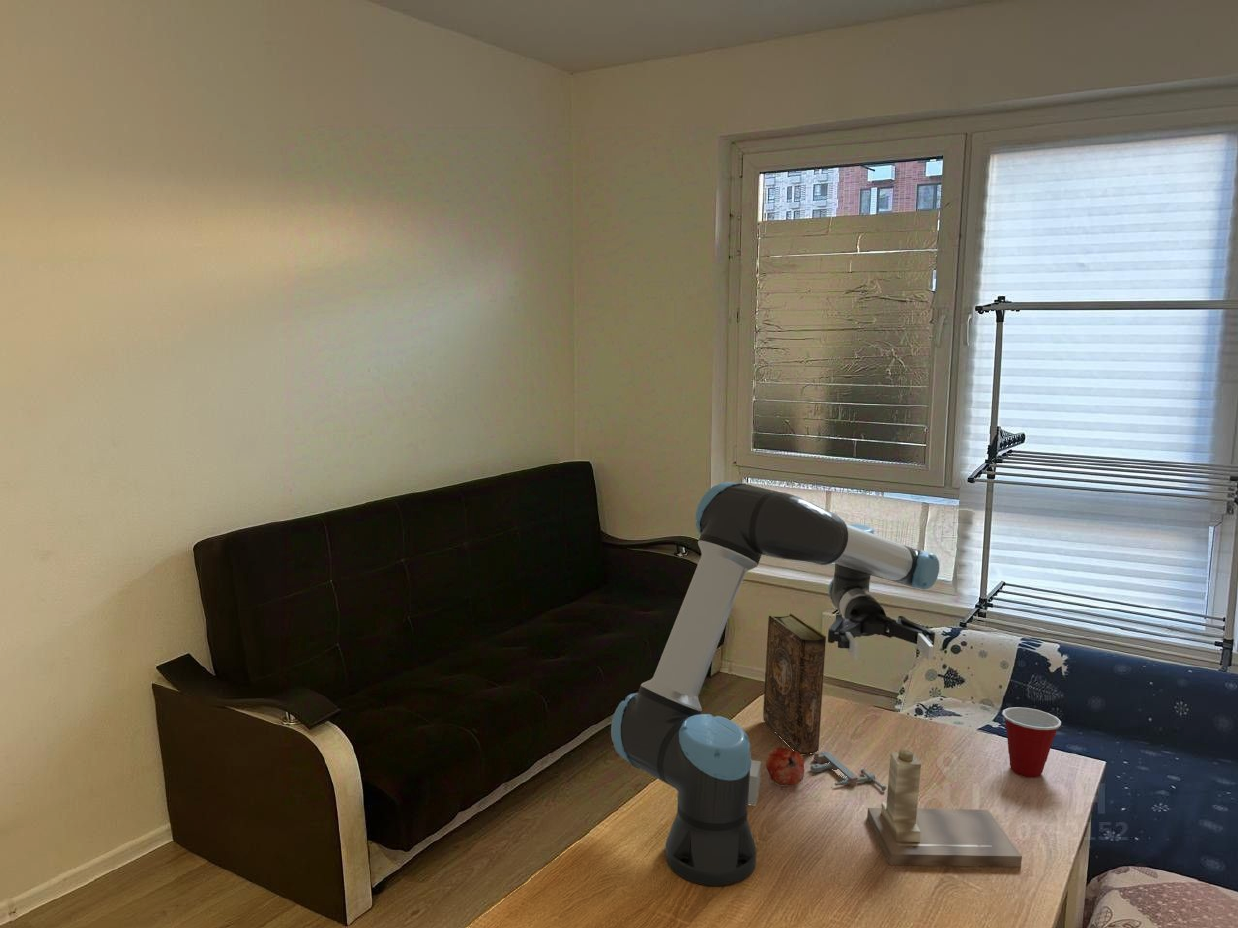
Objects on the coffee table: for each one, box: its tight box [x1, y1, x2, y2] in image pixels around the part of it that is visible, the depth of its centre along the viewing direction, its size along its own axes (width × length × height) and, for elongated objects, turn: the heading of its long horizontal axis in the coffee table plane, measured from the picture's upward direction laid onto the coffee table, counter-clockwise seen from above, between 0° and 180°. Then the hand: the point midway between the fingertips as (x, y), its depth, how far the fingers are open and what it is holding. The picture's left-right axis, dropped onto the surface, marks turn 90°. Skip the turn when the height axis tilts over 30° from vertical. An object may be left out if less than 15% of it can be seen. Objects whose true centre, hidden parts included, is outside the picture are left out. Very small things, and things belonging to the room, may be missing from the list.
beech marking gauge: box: [881, 749, 922, 842], centre depth 159 cm, size 4×9×14 cm, turn 0°
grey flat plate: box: [866, 807, 1023, 868], centre depth 159 cm, size 22×14×2 cm, turn 90°
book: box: [762, 613, 827, 755], centre depth 195 cm, size 16×6×25 cm, turn 17°
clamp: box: [810, 750, 887, 792], centre depth 181 cm, size 15×2×10 cm
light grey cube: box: [748, 759, 762, 806], centre depth 173 cm, size 6×6×6 cm
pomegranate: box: [765, 746, 805, 787], centre depth 178 cm, size 7×7×10 cm
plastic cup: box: [1001, 706, 1062, 779], centre depth 183 cm, size 11×11×12 cm
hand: (893, 652), depth 166 cm, fingers open, 13 cm apart
